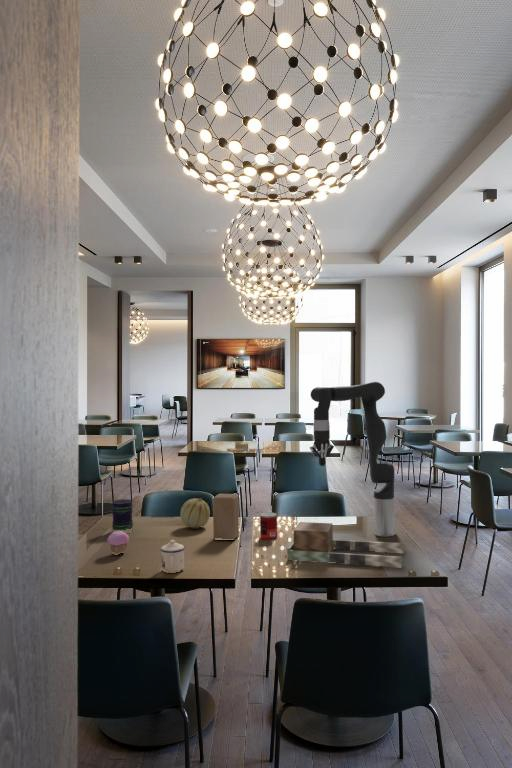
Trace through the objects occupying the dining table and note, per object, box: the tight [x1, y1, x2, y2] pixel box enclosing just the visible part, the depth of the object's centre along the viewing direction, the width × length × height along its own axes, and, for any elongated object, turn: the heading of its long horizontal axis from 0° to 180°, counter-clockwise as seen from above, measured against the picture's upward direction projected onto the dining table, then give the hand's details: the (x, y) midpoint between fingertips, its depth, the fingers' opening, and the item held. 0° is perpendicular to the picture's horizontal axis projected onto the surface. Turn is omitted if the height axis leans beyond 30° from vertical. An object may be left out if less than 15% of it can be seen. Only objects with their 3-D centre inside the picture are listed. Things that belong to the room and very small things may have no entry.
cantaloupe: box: [180, 497, 211, 528], centre depth 299 cm, size 15×15×15 cm
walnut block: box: [293, 521, 334, 553], centre depth 250 cm, size 14×14×12 cm
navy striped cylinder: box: [111, 499, 134, 530], centre depth 294 cm, size 10×10×15 cm
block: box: [212, 493, 240, 540], centre depth 278 cm, size 10×10×20 cm
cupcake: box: [107, 531, 130, 553], centre depth 256 cm, size 9×9×10 cm
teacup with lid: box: [160, 539, 185, 570], centre depth 232 cm, size 12×9×12 cm
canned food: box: [259, 512, 278, 541], centre depth 278 cm, size 8×8×11 cm
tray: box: [286, 538, 404, 569], centre depth 247 cm, size 45×20×5 cm, turn 75°
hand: (322, 465), depth 285 cm, fingers closed
